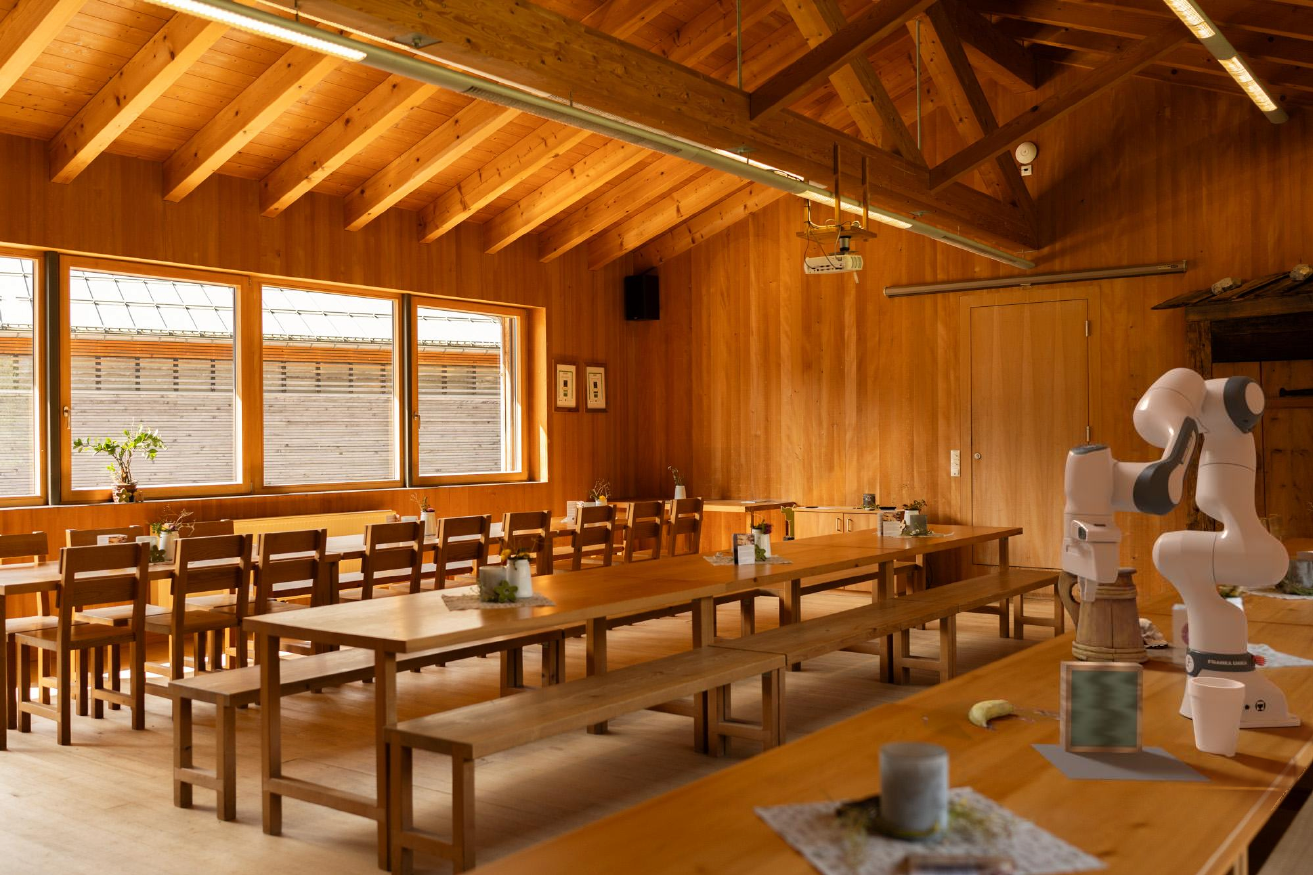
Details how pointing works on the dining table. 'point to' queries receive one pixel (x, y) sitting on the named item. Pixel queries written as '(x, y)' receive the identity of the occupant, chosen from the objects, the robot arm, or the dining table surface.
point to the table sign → (1101, 707)
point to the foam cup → (1216, 713)
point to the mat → (1120, 765)
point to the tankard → (1105, 620)
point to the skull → (1151, 633)
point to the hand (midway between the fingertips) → (1087, 600)
